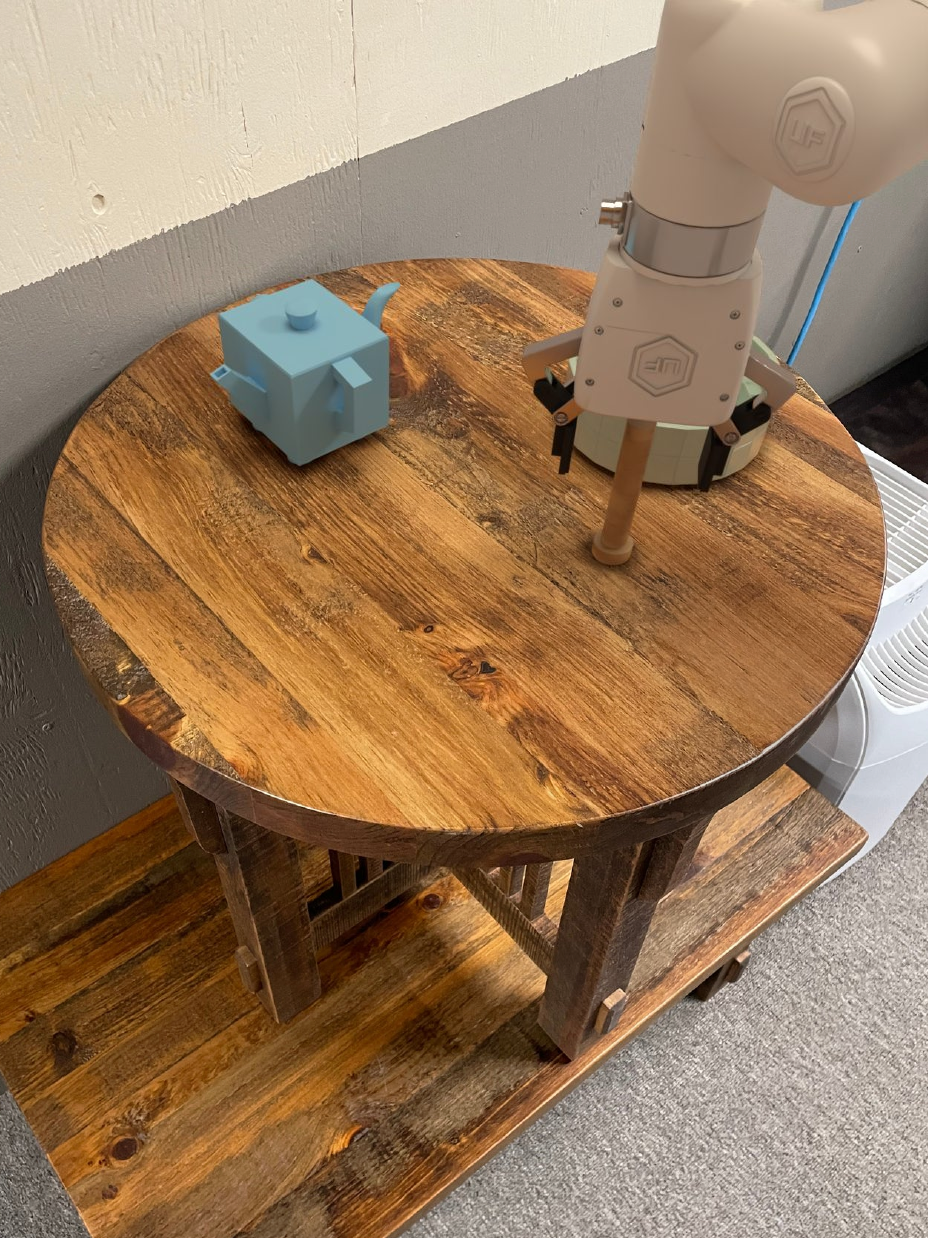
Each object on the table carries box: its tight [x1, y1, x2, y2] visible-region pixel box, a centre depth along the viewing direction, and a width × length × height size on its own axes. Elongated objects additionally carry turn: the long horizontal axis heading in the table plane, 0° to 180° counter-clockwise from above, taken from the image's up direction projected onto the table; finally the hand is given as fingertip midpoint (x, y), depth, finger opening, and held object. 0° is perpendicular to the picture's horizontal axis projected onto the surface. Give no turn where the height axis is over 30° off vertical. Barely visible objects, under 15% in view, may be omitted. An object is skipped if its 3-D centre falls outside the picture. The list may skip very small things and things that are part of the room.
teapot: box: [209, 278, 401, 467], centre depth 82 cm, size 16×18×11 cm
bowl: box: [564, 335, 781, 486], centre depth 84 cm, size 17×17×6 cm
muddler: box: [591, 419, 657, 566], centre depth 72 cm, size 3×3×12 cm
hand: (633, 471), depth 70 cm, fingers open, 9 cm apart
